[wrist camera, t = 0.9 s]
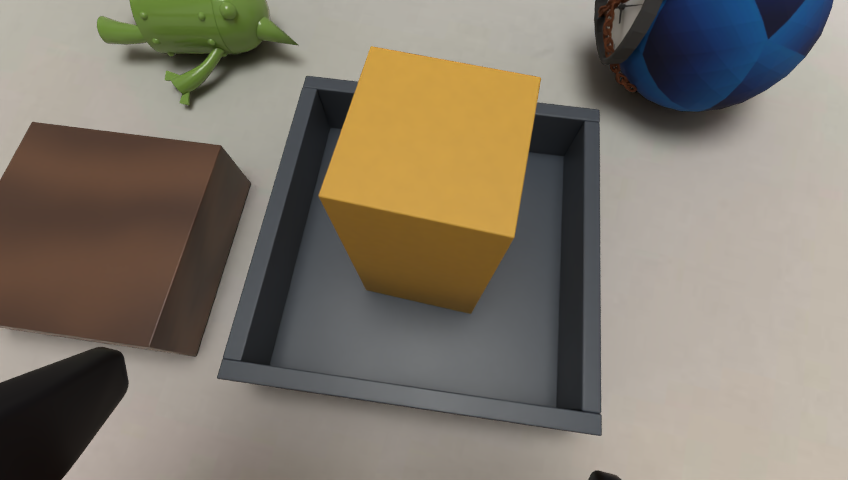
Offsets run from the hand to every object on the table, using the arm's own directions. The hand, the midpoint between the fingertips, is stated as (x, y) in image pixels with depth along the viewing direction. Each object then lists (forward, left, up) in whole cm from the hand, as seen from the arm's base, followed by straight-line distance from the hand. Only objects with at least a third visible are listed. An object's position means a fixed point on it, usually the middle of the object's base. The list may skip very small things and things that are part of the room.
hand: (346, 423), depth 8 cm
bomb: (+22, -14, -14) cm, 30 cm away
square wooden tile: (+6, +15, -14) cm, 21 cm away
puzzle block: (+8, -1, -13) cm, 15 cm away
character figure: (+21, +15, -14) cm, 30 cm away
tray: (+8, -1, -14) cm, 16 cm away
